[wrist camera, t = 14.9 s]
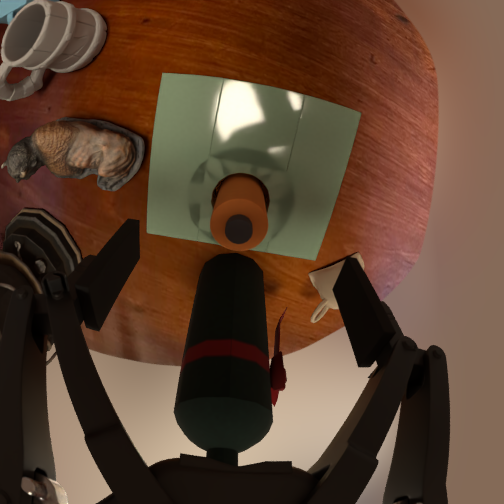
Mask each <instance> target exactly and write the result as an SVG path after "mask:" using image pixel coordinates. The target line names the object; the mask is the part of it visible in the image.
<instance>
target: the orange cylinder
mask: <svg viewBox="0 0 504 504" xmlns="http://www.w3.org/2000/svg"><path fill="white" fill-rule="evenodd" d="M210 229H211V233H212V235H213V237H214V238H215V240H216V241H217V242H218V243H219V244H220V245H221V246H223V247H225V248H227V249H229V250H233V251H246V250H249V249H252V248H254V247H256V246H257V245H259V244H260V243H261V242H262V241H263V239H264V238H265V236H266V234H267V231H268V218H267V212H266V206H265V200H264V194H263V189H262V185H261V183H260V182H259V180H258V179H257V178H256V177H255V176H253V175H251V174H245V173H236V174H231V175H229V176H228V177H227V178H225V179H224V181H223V182H222V184H221V186H220V189H219V193H218V196H217V199H216V202H215V206H214V209H213V212H212V216H211V220H210Z"/></svg>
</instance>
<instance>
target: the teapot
mask: <svg viewBox="0 0 504 504" xmlns="http://www.w3.org/2000/svg"><path fill="white" fill-rule="evenodd" d="M32 1H34V0H1V1H0V23H6V24H10V22H11V21H12V19H13V18H15V16H16V14H17V13H18V12H19V11H20V10H21V9H22V8H23V7H24V6H25V5H27V4H28V3H30V2H32ZM48 1H53V2H56V1H59V0H48Z"/></svg>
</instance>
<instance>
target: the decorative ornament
mask: <svg viewBox="0 0 504 504" xmlns="http://www.w3.org/2000/svg"><path fill="white" fill-rule="evenodd" d="M351 257H353V258H357V259H358V261H359V263H360V265H361V266H362V268H363V270H364V263H363V260H362V257H361V255H360V254H359V252H358V253H356V254H354V255H352V256H351ZM344 262H345V260H343V261H341V262H339V263H337V264H335V265H333V266H330V267H328V268H325V269H322V270H318V271H314V272H311V273H309V277H310V279H311V282H312V284H313V286H314V287H315V288H316V289H317V290H318V292H319V294H320V297H321V298H322V300H323V301H322V302H321V303H320V304H319V305H318V307H317V308H316V309H315V311H314V313H313V314H312V316H311V322H313V323H314V322H317V321H318V320H319V319H321V317H322V316H323V315H324V314H325V313H326V312H327V310H328V309H329V307H330V308H333V309H339V307H338V304H337V302H336V299H335V296H334V293H333V291H332V289H333V287H334V284H335V282H336V280H337V278H338V275H339V273H340V271H341V269H342V266H343V264H344ZM324 306H325V307H324ZM323 307H324V308H323ZM322 308H323V310H322V311H321V312H320V313H319V311H320V310H321V309H322ZM318 313H319V315H318V316H317V314H318ZM316 316H317V317H316Z"/></svg>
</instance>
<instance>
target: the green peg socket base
mask: <svg viewBox="0 0 504 504" xmlns="http://www.w3.org/2000/svg"><path fill="white" fill-rule="evenodd" d="M360 116H361V112H358V111H355V110H353V109H350V108H347V107H344V106H341V105H338V104H335V103H332V102H329V101H325V100H322V99H319V98H315V97H312V96H308V95H304V94H301V93H297V92H293V91H289V90H285V89H281V88H276V87H272V86H267V85H262V84H257V83H251V82H246V81H240V80H233V79H226V78H219V77H211V76H201V75H190V74H176V73H163V74H162V79H161V84H160V90H159V96H158V102H157V109H156V115H155V123H154V131H153V139H152V148H151V159H150V170H149V184H148V203H147V233H150V234H156V235H163V236H169V237H175V238H181V239H187V240H193V241H199V242H205V243H211V244H217V245H220V244H219V243H218V242H217V241H216V240H215V238H214V237H213V235H212V233H211V229H210V220H211V216H212V212H213V209H214V206H215V202H216V199H215V195H214V191H215V187H216V185H217V184H218V182H219V181H220V180H222V179H223V178H225V177H226V176H228V175H231V174H236V173H245V174H251V175H253V176H255V177H256V178H258V179H260V180H261V181H262V182H263V184H264V185H265V186H266V188H267V189H268V196H267V200H266V203H265V206H266V212H267V218H268V231H267V234H266V236H265V238H264V239H263V241H262V242H261V243H260V244H259V245H257V246H256V247H254V248H252V249H249V250H254V251H260V252H267V253H273V254H279V255H285V256H291V257H297V258H303V259H309V260H316V257H317V255H318V252H319V249H320V246H321V243H322V241H323V238H324V235H325V232H326V229H327V226H328V223H329V220H330V217H331V214H332V211H333V208H334V205H335V202H336V199H337V196H338V193H339V190H340V187H341V183H342V180H343V177H344V174H345V170H346V167H347V164H348V160H349V157H350V153H351V150H352V146H353V143H354V139H355V135H356V132H357V128H358V124H359V120H360ZM220 246H221V245H220Z"/></svg>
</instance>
